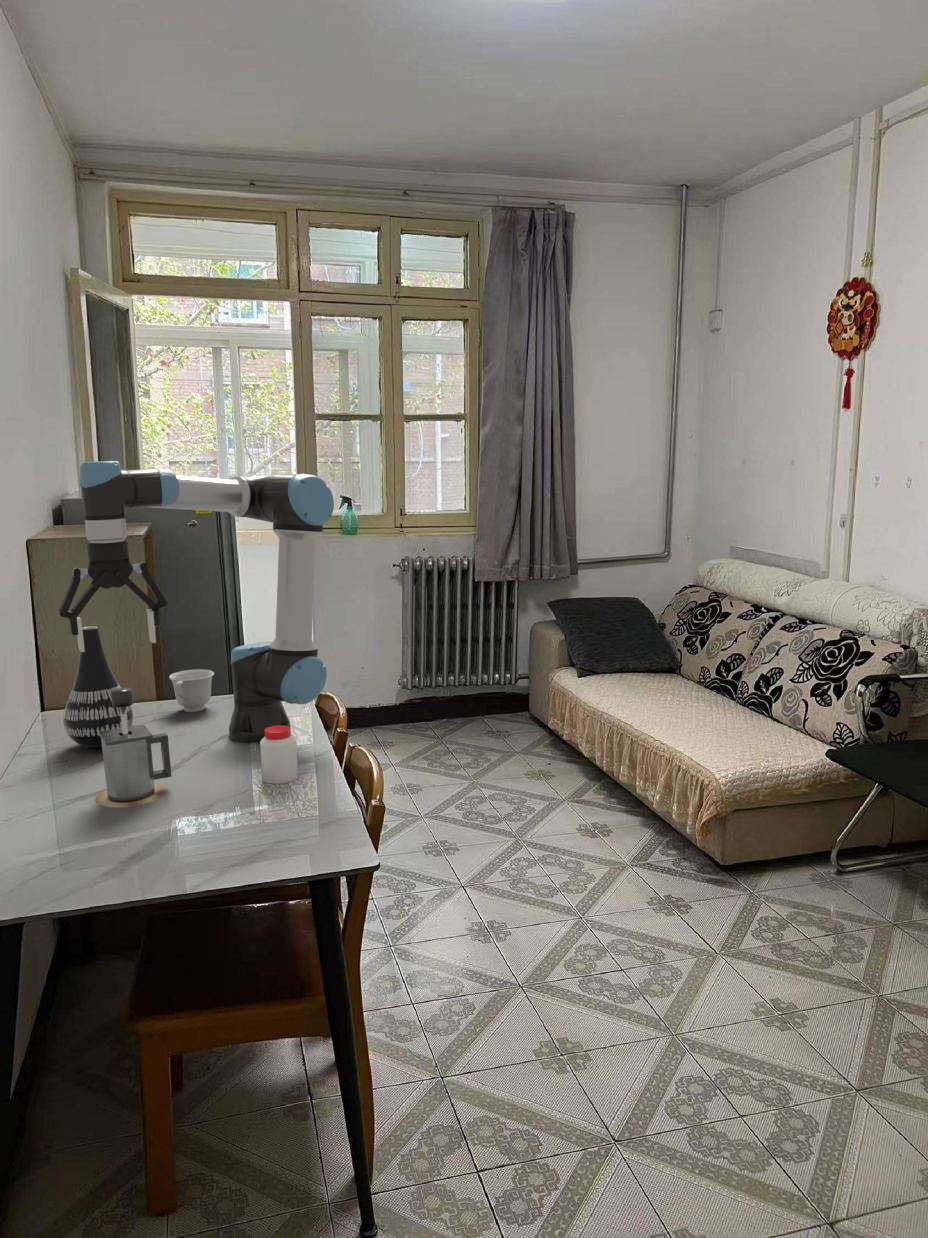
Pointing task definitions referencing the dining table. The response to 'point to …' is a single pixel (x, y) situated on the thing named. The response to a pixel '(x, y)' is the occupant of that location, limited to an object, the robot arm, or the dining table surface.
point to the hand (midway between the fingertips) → (117, 646)
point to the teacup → (192, 688)
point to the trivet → (104, 801)
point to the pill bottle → (279, 755)
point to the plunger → (122, 705)
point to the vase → (93, 695)
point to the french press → (132, 763)
